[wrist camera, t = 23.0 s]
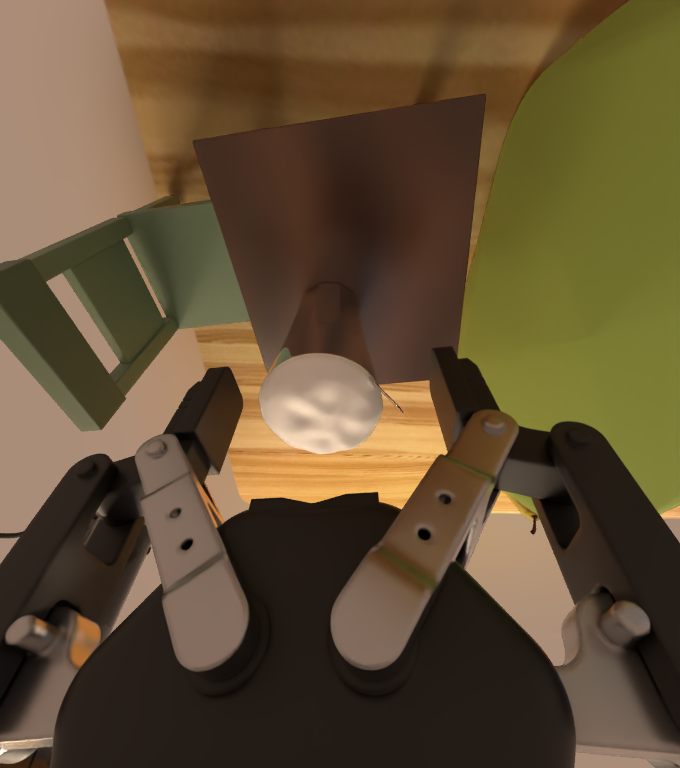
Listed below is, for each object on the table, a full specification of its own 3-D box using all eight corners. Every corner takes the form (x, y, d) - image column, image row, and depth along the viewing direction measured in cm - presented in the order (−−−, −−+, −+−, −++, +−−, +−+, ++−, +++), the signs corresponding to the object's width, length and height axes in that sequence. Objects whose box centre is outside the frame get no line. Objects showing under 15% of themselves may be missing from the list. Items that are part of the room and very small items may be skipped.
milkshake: (398, 311, 19) (434, 451, 11) (322, 356, 21) (306, 502, 13) (353, 241, 16) (358, 355, 9) (272, 299, 18) (216, 434, 11)
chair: (197, 293, 31) (80, 432, 17) (156, 196, 26) (-50, 284, 12) (287, 283, 30) (239, 419, 17) (264, 180, 25) (167, 256, 12)
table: (295, 312, 32) (273, 393, 23) (254, 130, 23) (191, 140, 14) (423, 298, 31) (455, 378, 22) (428, 101, 22) (486, 93, 13)
